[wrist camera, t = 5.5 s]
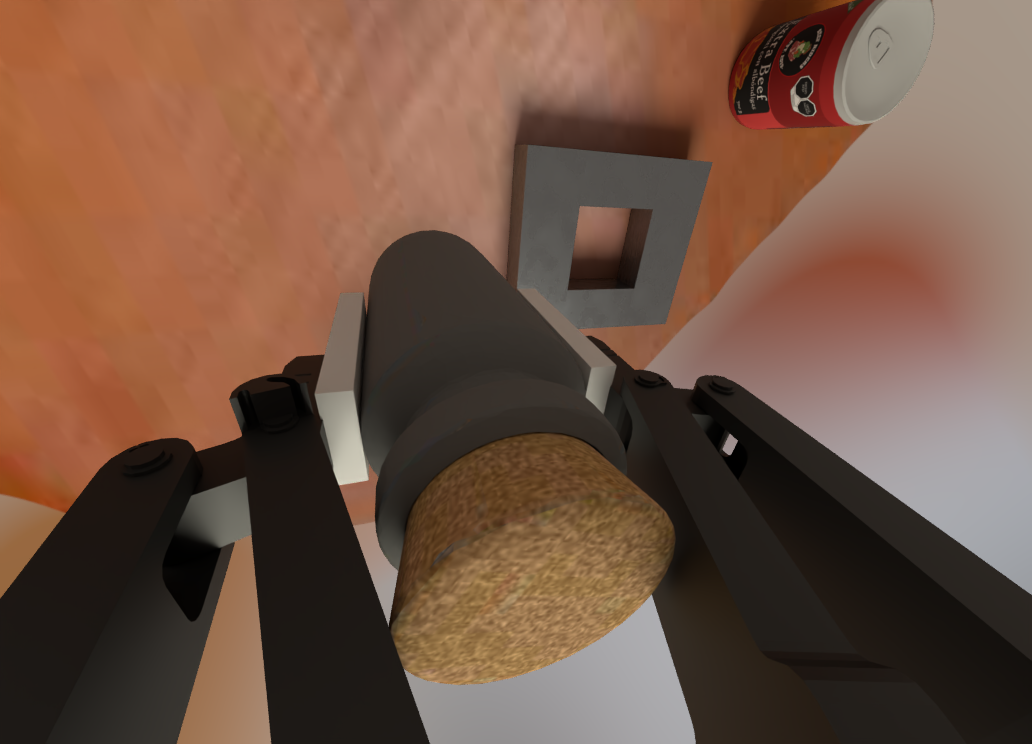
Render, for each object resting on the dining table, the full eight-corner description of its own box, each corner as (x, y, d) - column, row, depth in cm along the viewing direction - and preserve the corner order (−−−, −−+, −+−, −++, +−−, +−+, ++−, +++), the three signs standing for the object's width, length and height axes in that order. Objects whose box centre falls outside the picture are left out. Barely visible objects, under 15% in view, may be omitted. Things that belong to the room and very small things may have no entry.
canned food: (753, 10, 32) (896, -42, 23) (810, 49, 36) (956, 17, 27) (711, 113, 36) (821, 102, 27) (766, 141, 39) (882, 139, 30)
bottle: (436, 367, 20) (523, 714, 8) (340, 293, 17) (236, 695, 5) (515, 291, 19) (751, 548, 7) (431, 198, 16) (601, 379, 4)
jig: (514, 144, 32) (528, 144, 29) (687, 161, 37) (712, 162, 34) (504, 319, 40) (513, 332, 37) (647, 312, 45) (665, 323, 42)
